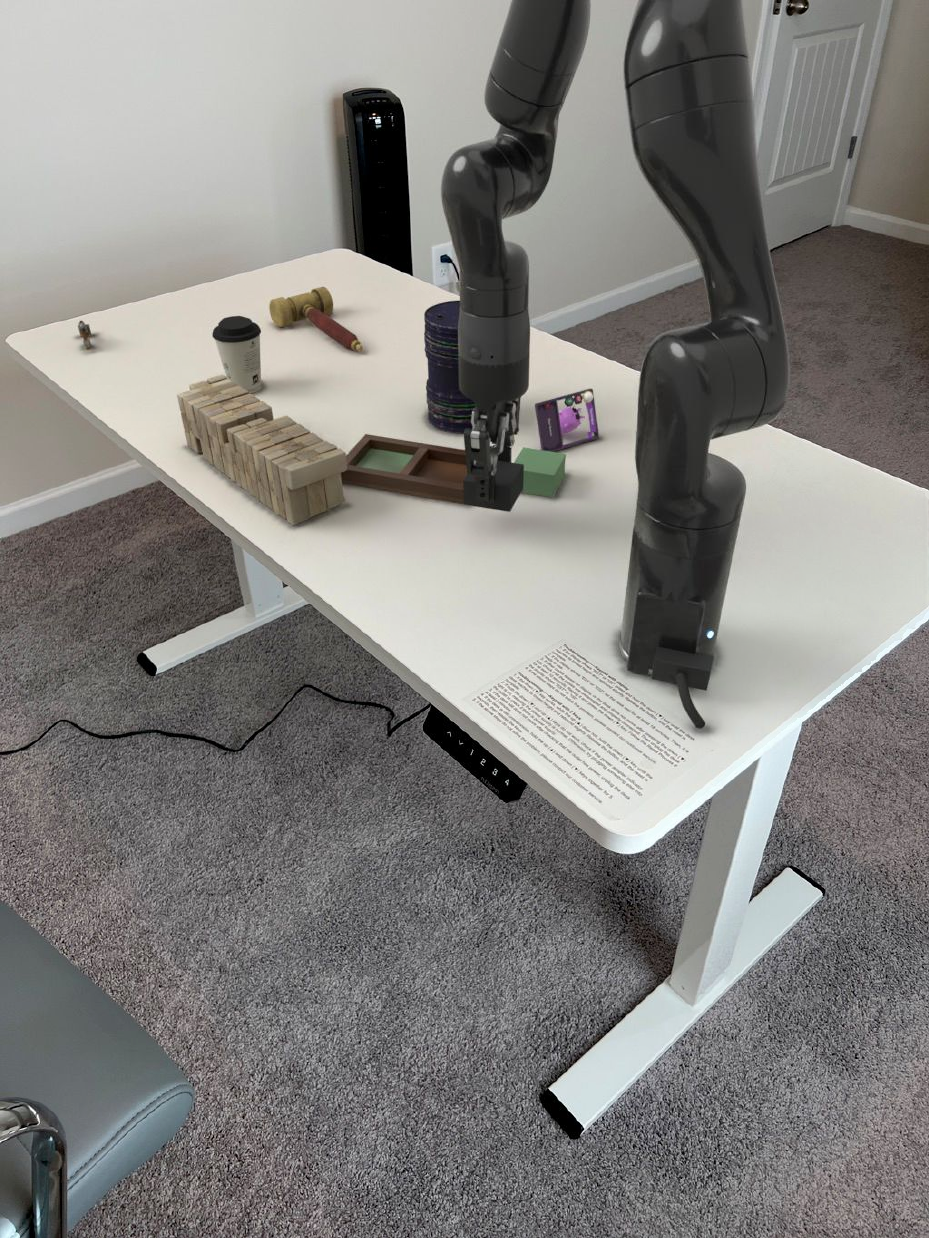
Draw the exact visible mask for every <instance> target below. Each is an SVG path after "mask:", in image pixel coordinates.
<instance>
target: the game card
mask: <svg viewBox="0 0 929 1238" xmlns="http://www.w3.org/2000/svg"><path fill="white" fill-rule="evenodd" d="M562 400H564V402H563V403H564V404H565V406H566V407H565V408H563V409H562V410H560V411H559V407H558V405H559V404H558V401H562ZM582 402H584V403H585V407H586V411H587V415H588V423H589V430H590V431H588V432H587V435H586V436H587V437H585V438H583V439H579V440H575V441H572V442H569V443H566V444H564V441H563V440H564V439H563V435H566V434H570V433H572V432H573V431H575V430H576V429H577V428H578V427H579V426H581V425H584V424H583V422H581V419H585V418H586V416H585V415H580V412H579V411H581V409H582V408H581V407H578V408H576V407H575V406H576V405H581V404H582ZM574 404H575V405H574ZM534 410H535V411H534V412H535V415H536V424H537V430H538V436H539V437H538V438H539V443H540V444H539V445H540V450H543V451H550V452H557V451H560V450H564V449H567V448H571V447H575V446H577V445H581V444H585V443H587V442H590V441H593V440H597V439H599V437H600V434H599V426H598V418H597V411H596V403H595V395H594V389H593V388H586V389H584V390H583V389H582V390H580V391H576V392H573V393H568V394H565V395H561V396H557V397H553V398H550V399H547V400H543V401H539V402H536V403H535V404H534ZM593 434H594V435H593Z"/></svg>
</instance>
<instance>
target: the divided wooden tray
mask: <svg viewBox="0 0 929 1238" xmlns="http://www.w3.org/2000/svg"><path fill="white" fill-rule="evenodd" d="M346 464H347V470H346V471H344V472H341V479H342V484H346V485H347V484H348V485H352V486H359V487H364V488H368V489H369V488H370V489H376V490H381V491H386V492H393V493H398V494H404V495H408V496H409V495H410V496H415V497H420V498H427V499H430V500H431V499H432V500H438V501H443V502H449V503H455V504H461V505H464V504H463V480H464V478H465V477H466V475H467V467H466V456H465V449H462V448H454V447H449V446H442V445H436V444H430V443H423V442H418V441H411V440H405V439H399V438H393V437H386V436H379V435H373V434H369V433H365V434H364V435H363V436H362V437H361V438H360V439H359V441H358V442H357V443H356V444H355V445H354V446H353V447H352V448H351V449H350V451H348V453H346Z"/></svg>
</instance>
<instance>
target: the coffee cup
mask: <svg viewBox="0 0 929 1238" xmlns="http://www.w3.org/2000/svg"><path fill="white" fill-rule="evenodd" d="M261 333H262V330H261V327H260V326H259V325H258V324H257V323H256V322H253V320H252V319H251V318H249V317H246V316H244V315H243V316H242V315H232V316H227V317H224V318H222V319H221V320H220V321H219V322H218V323H217V325H216V326H215V327H214V328H213V330H212V338H213V339H214V341H215V344H216V347H217V348H216V349H217V351H218V354H219V358H220V361H221V364H222V367H223V370H224V374H225V376H226V377H227V379H229V380H230V381H232V382H234V383H236V384H237V385H238V386H240V387H242V388H243V389H246V390H247V391H248V392H249V394H254V393H257V392H258V391H260V390H261V388H262V365H261V361H262V360H261V336H260V335H261Z"/></svg>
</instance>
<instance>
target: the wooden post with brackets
mask: <svg viewBox="0 0 929 1238" xmlns="http://www.w3.org/2000/svg"><path fill="white" fill-rule="evenodd" d="M77 324H78V325H77V329H78V333H79V337H82V338H83V340H82V343H83V346H84V348H85V350H86V351H88V350H91V347H92V343H91V339H88V336H92V330H91V327H90V324H89V323H87V324H86V322H85V321H84V320H79V322H78V323H77Z"/></svg>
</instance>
